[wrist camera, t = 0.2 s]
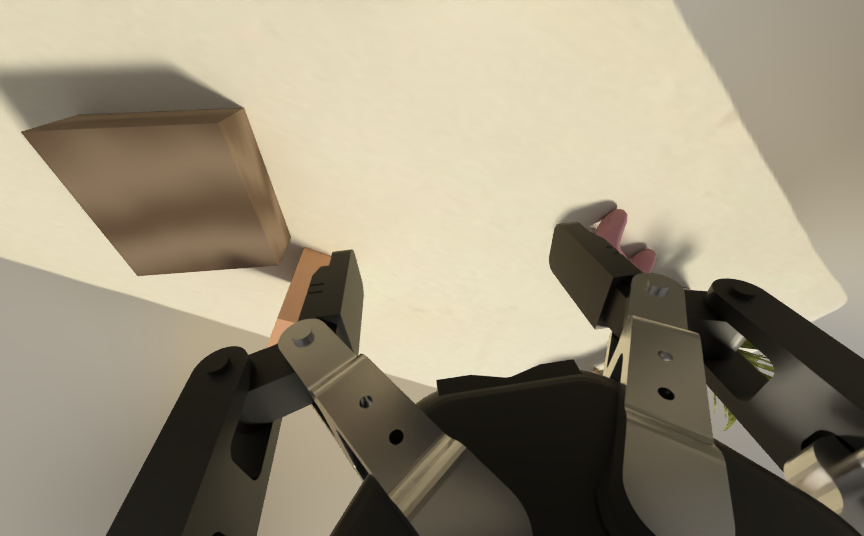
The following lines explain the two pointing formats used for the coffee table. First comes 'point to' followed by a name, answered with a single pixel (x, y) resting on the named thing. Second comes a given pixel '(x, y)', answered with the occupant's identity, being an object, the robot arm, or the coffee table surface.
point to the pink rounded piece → (612, 233)
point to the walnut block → (170, 187)
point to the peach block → (297, 291)
